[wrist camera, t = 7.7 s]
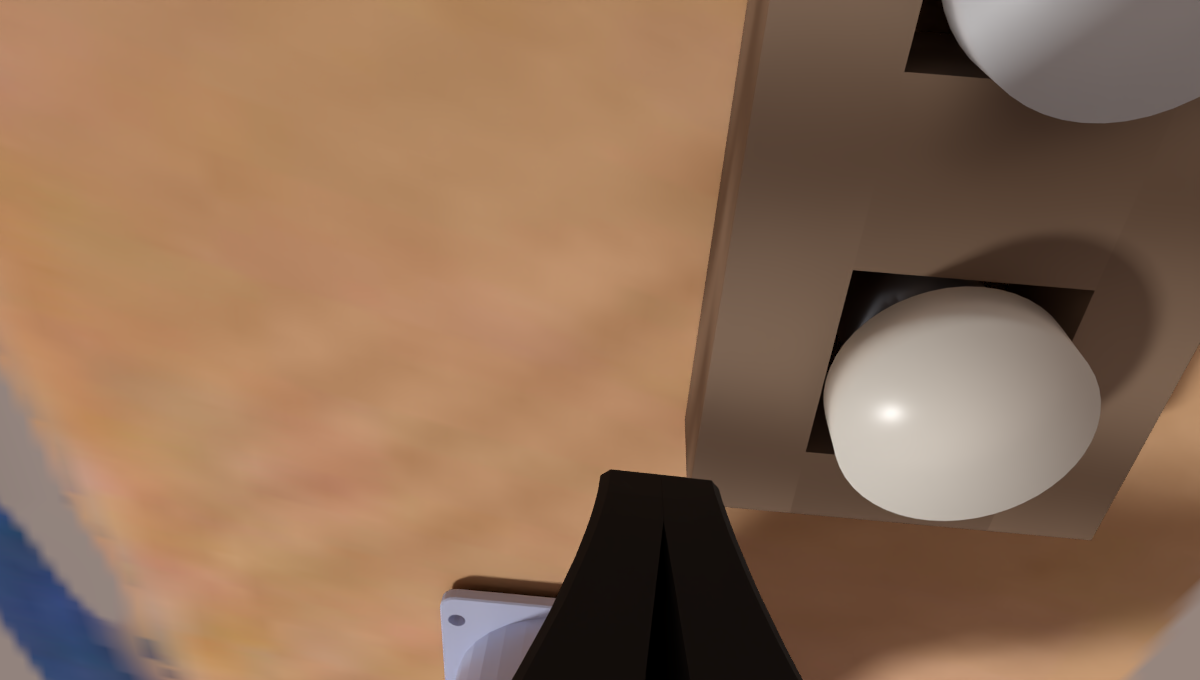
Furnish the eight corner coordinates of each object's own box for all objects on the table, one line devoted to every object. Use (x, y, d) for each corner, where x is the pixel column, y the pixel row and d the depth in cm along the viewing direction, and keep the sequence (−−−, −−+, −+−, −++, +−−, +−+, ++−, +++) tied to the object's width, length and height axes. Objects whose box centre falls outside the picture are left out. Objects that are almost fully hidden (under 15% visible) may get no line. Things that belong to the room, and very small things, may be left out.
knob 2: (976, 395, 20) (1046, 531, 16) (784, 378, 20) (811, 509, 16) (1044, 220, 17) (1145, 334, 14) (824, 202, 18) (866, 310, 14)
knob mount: (1040, 451, 21) (1091, 540, 19) (684, 419, 21) (687, 503, 19) (1423, -376, 12) (1619, -419, 10) (810, -416, 12) (846, -468, 10)
